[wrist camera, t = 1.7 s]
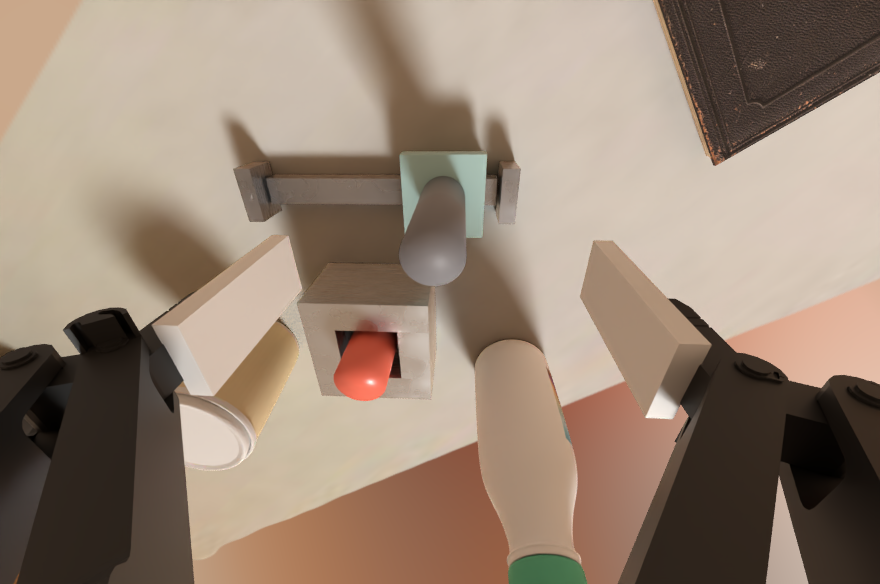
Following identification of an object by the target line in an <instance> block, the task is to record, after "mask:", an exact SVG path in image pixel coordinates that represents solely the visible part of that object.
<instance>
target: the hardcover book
mask: <svg viewBox="0 0 880 584" xmlns="http://www.w3.org/2000/svg"><path fill="white" fill-rule="evenodd" d="M653 2H654V5H655V8H656V11H657V14H658V17H659V20H660V23H661V25H662V28H663V31H664V34H665V37H666V40H667V43H668V46H669V49H670V52H671V55H672V58H673V61H674V63H675V66H676V69H677V72H678V75H679V78H680V81H681V84H682V87H683V90H684V93H685V96H686V99H687V101H688V104H689V107H690V110H691V113H692V116H693V119H694V122H695V125H696V128H697V131H698V134H699V137H700V139H701V142H702V145H703V148H704V151H705V154H706V156H709V157H710V159H711V160H712V163H713V165H715V166H716V165H718V164H719V163H721V162H723V161H725V160H726V159H728V158H730V157H732V156H734V155H735V154H737V153H739V152H741V151H742V150H744V149H746V148H748V147H749V146H751V145H753V144H755V143H756V142H758V141H760V140H762V139H763V138H765V137H767V136H769V135H770V134H772V133H774V132H776V131H777V130H779V129H781V128H783V127H784V126H786V125H788V124H790V123H791V122H793V121H795V120H797V119H798V118H800V117H802V116H804V115H805V114H807V113H809V112H811V111H813V110H814V109H816V108H818V107H820V106H821V105H823V104H825V103H827V102H828V101H830V100H832V99H834V98H835V97H837V96H839V95H841V94H842V93H844V92H846V91H848V90H849V89H851V88H853V87H855V86H856V85H858V84H860V83H862V82H863V81H865V80H867V79H869V78H870V77H872V76H874V75H876V74H877V73H879V72H880V0H653Z"/></svg>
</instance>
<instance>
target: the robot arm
mask: <svg viewBox="0 0 880 584" xmlns="http://www.w3.org/2000/svg"><path fill="white" fill-rule="evenodd" d="M301 290H302V286H301V282H300V278H299V275H298V271H297V267H296V263H295V259H294V255H293V251H292V248H291V244H290V240H289V236H285V235H271V236H270V237H269V238H267V239H266V240H265V241H263V242H262V243H261V244H259V245H258V246H257V247H255V248H254V249H253V250H251V251H250V252H249V253H247V254H246V255H245V256H243V257H242V258H241V259H239V260H238V261H237V262H235V263H234V264H232V265H231V266H230V267H228V268H227V269H226V270H224V271H223V272H222V273H220V274H219V275H218V276H216V277H215V278H214V279H212V280H211V281H210V282H208V283H207V284H206V285H204V286H203V287H202V288H200V289H199V290H197V291H195V292H193V293H191V294H189V295H188V296H186V297H185V298H184V299H182V300H181V301H180V302H178V304H175V305H174V306H173V307H171V308H170V309H169V311H166V312H165V313H163V314H162V315H161V316H159V317H158V318H156V319H155V320H154V321H152V322H151V323H150V324H148V325H147V326H146V327H144V328H143V329H142V330H140V331H139V330H138V328H137V327H136V325H135V323H134V322H133V320H132V318H131V317H130V315H129V313H128V312H127V310H126V309H124V308H107V309H102V310H98V311H95V312H92V313H89V314H86V315H84V316H82V317H79V318H77V319H75V320H74V321H72V322H71V323H69V324H68V325H67V326H66V327H65V328H64V329H63V331H64V332H65V334H66V335H67V336H68V338H69V339H70V340H71V342H72V343H73V345H74V346H75V347H76V349H77V350H78V351H79V353H80V354H79V355H73V356H67V357H61V356H60V355H59V354H58V353H57V351H56V350H55V349H54V347H53V346H52V345H47V344H41V345H33V346H29V347H26V348H25V347H23V348H19V349H16V350H15V351H11V352H9V353H6V354H5V355H4V356H2V357H1V358H0V584H13V583H14V582H15V580H16V578H17V576H18V574H19V576H18V580H17V583H16V584H194V576H193V563H192V550H191V538H190V526H189V514H188V501H187V489H186V477H185V465H184V452H183V440H182V428H181V416H180V403H179V398H178V396H177V394H176V392H175V391H174V390H175V389H176V388H177V387H178V386H179V385H180V384H181V383H182V382H184V384H185V386H186V387H187V389H188V391H189V393H190V394H191V395H201V396H214V395H215V394H216V393H217V392H218V391H219V389H220V388H221V387H222V386H223V384H224V383H225V382H226V381H227V380H228V378H229V377H230V376H231V375H232V374H233V372H234V371H235V370H236V369H237V368H238V366H239V365H240V364H241V363H242V362H243V360H244V359H245V358H246V357H247V355H248V354H249V353H250V352H251V351H252V349H253V348H254V347H255V346H256V345H257V343H258V342H259V341H260V340H261V339H262V337H263V336H264V335H265V334H266V332H267V331H268V330H269V329H270V328H271V326H272V325H273V324H274V323H275V322H276V320H277V319H278V318H279V317H280V316H281V314H282V313H283V312H284V311H285V310H286V308H287V307H288V306H289V305H290V303H291V302H292V301H293V300H294V299H295V297H296V296H297V295H298V294H299V293H300V291H301ZM580 298H581V299H582V301H583V303H584V305H585V307H586V309H587V311H588V312H589V314H590V316H591V318H592V320H593V322H594V324H595V325H596V327H597V329H598V331H599V333H600V335H601V336H602V338H603V340H604V342H605V344H606V346H607V348H608V349H609V351H610V353H611V355H612V357H613V359H614V361H615V362H616V364H617V366H618V368H619V370H620V372H621V373H622V375H623V377H624V379H625V381H626V382H627V385H628V386H629V388H630V390H631V392H632V394H633V396H634V398H635V399H636V401H637V403H638V405H639V407H640V408H641V410H642V412H643V414H644V416H645V418H663V419H673V418H674V416H675V414H676V412H677V410H678V408H679V407H680V405H682V407H683V408H684V410H685V411H686V413H687V414H688V415H689V417H688V418H687V420H686V422H685V424H684V426H683V427H682V429H681V431H680V433H679V435H678V437H677V438H676V440H675V442H676V445H675V448H674V450H673V452H672V455H671V457H670V460H669V462H668V464H667V467H666V469H665V472H664V474H663V477H662V479H661V481H660V484H659V486H658V489H657V491H656V493H655V496H654V498H653V500H652V503H651V505H650V508H649V510H648V512H647V515H646V517H645V520H644V522H643V525H642V527H641V529H640V532H639V534H638V536H637V539H636V542H635V544H634V546H633V548H632V551H631V553H630V556H629V558H628V561H627V563H626V565H625V568H624V570H623V572H622V575H621V577H620V580H619V582H618V584H766V576H767V568H768V560H769V552H770V543H771V535H772V527H773V519H774V510H775V502H776V493H777V485H778V477H779V476H780V480H781V484H782V488H783V491H784V495H785V498H786V502H787V506H788V510H789V513H790V517H791V521H792V524H793V528H794V532H795V535H796V539H797V542H798V546H799V550H800V554H801V557H802V561H803V564H804V568H805V572H806V575H807V579H808V583H809V584H880V384H877V383H875V382H872V381H867V380H864V379H861V378H857V377H852V376H846V375H836V376H833V377H831V378H830V379H829V380H828V381H827V382H826V383H825V385H824V386H823V387H822V388H818V387H814V386H809V385H804V384H801V383H796V382H792V381H789V380H788V378H787V376H786V375H785V374H784V373H783V372H782V371H781V370H780V369H778V368H777V367H775V366H774V365H772V364H771V363H769V362H767V361H765V360H762V359H760V358H758V357H755V356H751V355H748V354H743V353H736V352H735V351H734V350H733V349H732V348H731V347H730V346H729V345H728V344H727V343H726V342H725V341H724V340H723V339H722V338H721V337H720V336H719V335H718V334H717V333H716V332H715V331H714V330H713V329H712V328H709V325H708V324H707V323H706V322H705V321H704V320H703V319H700V318H701V317H700V316H699V315H698V314H697V313H696V312H695V311H694V310H693V309H692V308H690V307H689V306H687V305H685V304H684V303H682V302H680V301H678V300H677V299H668V298H667V297H666V296H665V295H664V294H663V293H662V292H661V291H660V290H659V289H658V288H657V287H656V286H655V285H654V284H653V283H652V282H651V281H650V280H649V279H648V277H647V276H646V275H645V274H644V273H643V272H642V271H641V270H640V269H639V268H638V267H637V266H636V265H635V264H634V263H633V262H632V261H631V260H630V259H629V258H628V257H627V255H626V254H625V253H624V252H623V251H622V250H621V249H620V248H619V247H618V246H617V245H616V244H615V243H614V242H613V241H593V245H592V249H591V253H590V257H589V262H588V266H587V270H586V274H585V278H584V282H583V287H582V291H581V295H580ZM19 572H20V573H19Z"/></svg>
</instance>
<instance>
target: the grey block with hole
mask: <svg viewBox="0 0 880 584" xmlns="http://www.w3.org/2000/svg"><path fill="white" fill-rule="evenodd" d="M297 306H298V309H299V313H300V317H301V320H302V324H303V328H304V331H305V335H306V339H307V342H308V346H309V350H310V353H311V357H312V361H313V364H314V368H315V372H316V375H317V379H318V383H319V386H320V390H321V394H322V395H325V396H346V395H344V394H343V393H341V392H340V391H339V390H338V388H337V387H336V385H335V383H334V373H335V371H336V369H337V367H338V364H339V362H340V360H341V358H342V356H343V353H344V351H345V349H346V347H347V345H348V342H349V340H350V338H351V336H352V334H353V331H373V332H397V336H398V344H397V348H396V352H395V356H394V359H393V363H392V367H391V371H390V375H389V379H388V383H387V387H386V390H385V392H384V393H383V394H382V395H381V396H380V397H378V398H402V399H428V400H431V396H432V387H433V377H434V367H435V358H436V303H435V286H428V285H423V284H420V283H418V282H416V281H414V280H413V279H412V278H410V277H409V276H408V275H407V274H406V272H405V271H404V270H403V268H402V266H401V264H368V263H328V264H327V265H326V267H325V268H324V269H323V270H322V272H321V273H320V274H319V276H318V277H317V278H316V279H315V281H314V282H313V283H312V285H311V286H310V287H309V288H308V290H307V291H306V292H305V293H304V295H303V296H302V297H301V299H300V300H299V301H298V302H297Z"/></svg>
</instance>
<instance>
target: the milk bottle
mask: <svg viewBox="0 0 880 584" xmlns="http://www.w3.org/2000/svg"><path fill="white" fill-rule="evenodd" d="M475 392H476V415H477V434H478V449H479V461H480V468H481V474H482V478H483V482H484V485H485V488H486V491H487V493H488V495H489V498H490V500H491V502H492V504H493V506H494V507H495V510H496V512H497V514H498V516H499V518H500V520H501V522H502V525H503V528H504V530H505V533H506V536H507V540H508V543H509V549H510V554H509V555H508V557H507V564H508V566H509V571H508V578H509V584H587V580H586V577H585V574H584V571H583V569H582V567H581V557H580V556H579V554H578V553H577V552H576V551H575V549H574V545H573V536H572V523H573V511H574V505H575V499H576V492H577V467H576V461H575V455H574V451H573V447H572V444H571V440H570V436H569V432H568V429H567V426H566V422H565V419H564V416H563V413H562V409H561V405H560V402H559V399H558V396H557V392H556V389H555V386H554V383H553V380H552V376H551V373H550V370H549V367H548V364H547V361H546V358H545V356H544V355H543V353H542V352H541V351H540V350H539V349H538V348H537V347H535V346H534V345H532V344H531V343H528V342H526V341H522V340H515V339H509V340H502V341H498V342H496V343H493V344H491V345H490V346H488V347H486V348H485V349H484V350H483V351H482V352H481V354H480V355H479V357H478V358H477V360H476V363H475Z"/></svg>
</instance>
